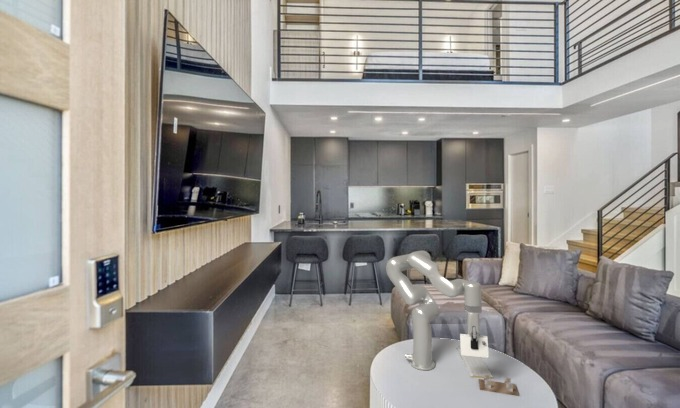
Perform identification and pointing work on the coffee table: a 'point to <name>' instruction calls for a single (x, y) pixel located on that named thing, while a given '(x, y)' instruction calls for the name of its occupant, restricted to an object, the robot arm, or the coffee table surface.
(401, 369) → the coffee table surface
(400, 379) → the coffee table surface
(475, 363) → the baseboard molding
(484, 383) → the hinge mount
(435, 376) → the coffee table surface
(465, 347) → the cabinet door
